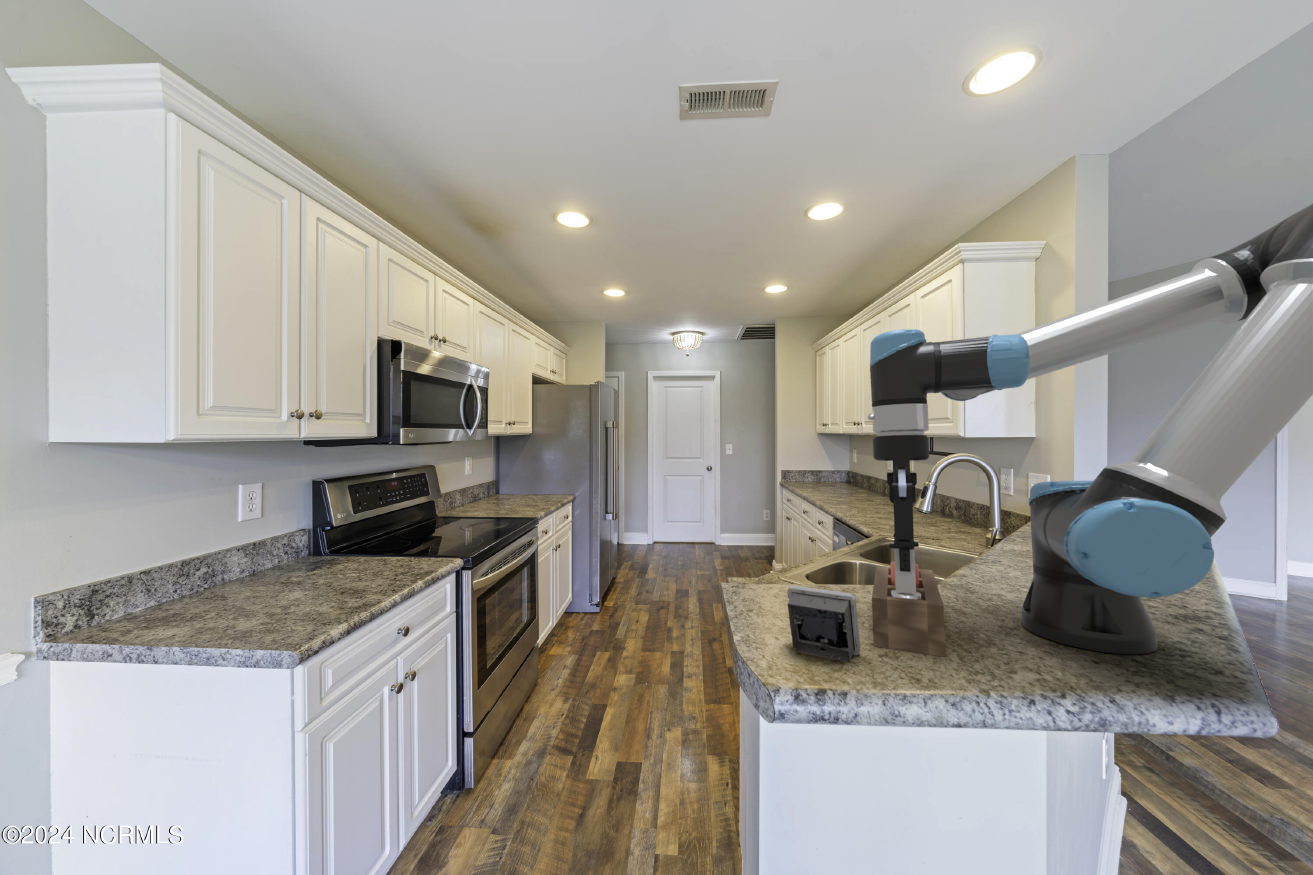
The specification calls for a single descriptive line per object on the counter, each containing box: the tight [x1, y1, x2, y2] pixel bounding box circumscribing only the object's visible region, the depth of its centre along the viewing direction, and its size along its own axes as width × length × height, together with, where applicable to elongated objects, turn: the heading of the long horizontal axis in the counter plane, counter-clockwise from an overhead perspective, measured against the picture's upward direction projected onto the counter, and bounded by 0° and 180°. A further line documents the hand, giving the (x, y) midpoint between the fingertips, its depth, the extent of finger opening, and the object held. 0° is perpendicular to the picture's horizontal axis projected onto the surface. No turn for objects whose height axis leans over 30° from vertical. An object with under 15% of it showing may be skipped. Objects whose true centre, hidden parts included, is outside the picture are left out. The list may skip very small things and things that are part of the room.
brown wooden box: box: [871, 565, 946, 658], centre depth 76 cm, size 9×21×7 cm, turn 153°
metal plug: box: [891, 590, 921, 600], centre depth 70 cm, size 4×4×6 cm
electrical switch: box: [786, 584, 861, 664], centre depth 66 cm, size 9×5×9 cm, turn 57°
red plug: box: [890, 560, 920, 588], centre depth 76 cm, size 4×4×6 cm
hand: (905, 591), depth 70 cm, fingers closed
